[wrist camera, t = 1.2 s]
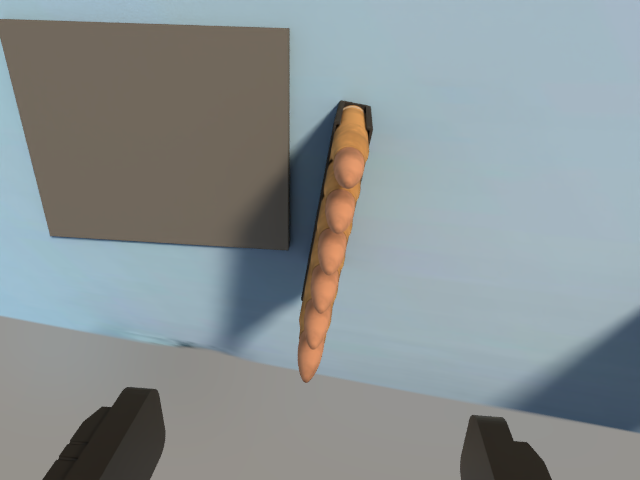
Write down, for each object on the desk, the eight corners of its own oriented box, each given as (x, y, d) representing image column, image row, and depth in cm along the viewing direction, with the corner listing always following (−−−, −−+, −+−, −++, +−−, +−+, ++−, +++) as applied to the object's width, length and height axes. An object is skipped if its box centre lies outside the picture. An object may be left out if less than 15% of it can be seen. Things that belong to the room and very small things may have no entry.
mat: (289, 28, 24) (287, 28, 23) (289, 246, 30) (288, 250, 29) (3, 19, 25) (-5, 19, 24) (55, 232, 30) (50, 235, 30)
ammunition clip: (339, 99, 25) (325, 152, 15) (371, 105, 25) (381, 162, 15) (308, 262, 30) (281, 393, 19) (336, 267, 30) (323, 402, 19)
